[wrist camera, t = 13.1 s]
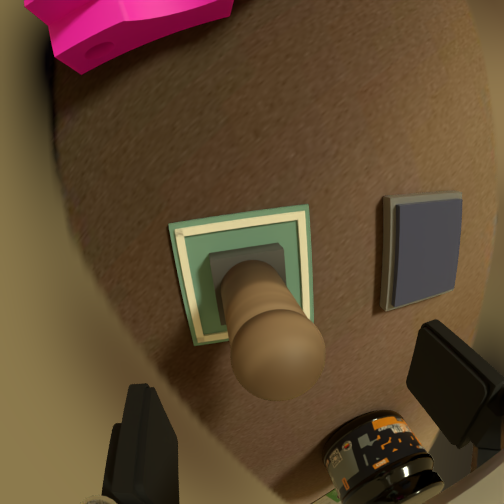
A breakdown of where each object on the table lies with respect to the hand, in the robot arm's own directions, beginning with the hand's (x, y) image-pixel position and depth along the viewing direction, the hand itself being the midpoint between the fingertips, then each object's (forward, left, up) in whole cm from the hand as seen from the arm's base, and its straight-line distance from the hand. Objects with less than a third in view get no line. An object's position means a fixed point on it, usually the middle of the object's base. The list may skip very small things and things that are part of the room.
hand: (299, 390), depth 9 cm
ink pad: (+1, +14, -12) cm, 19 cm away
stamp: (+1, 0, -12) cm, 12 cm away
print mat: (+1, 0, -12) cm, 12 cm away
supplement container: (+23, +11, -12) cm, 28 cm away
